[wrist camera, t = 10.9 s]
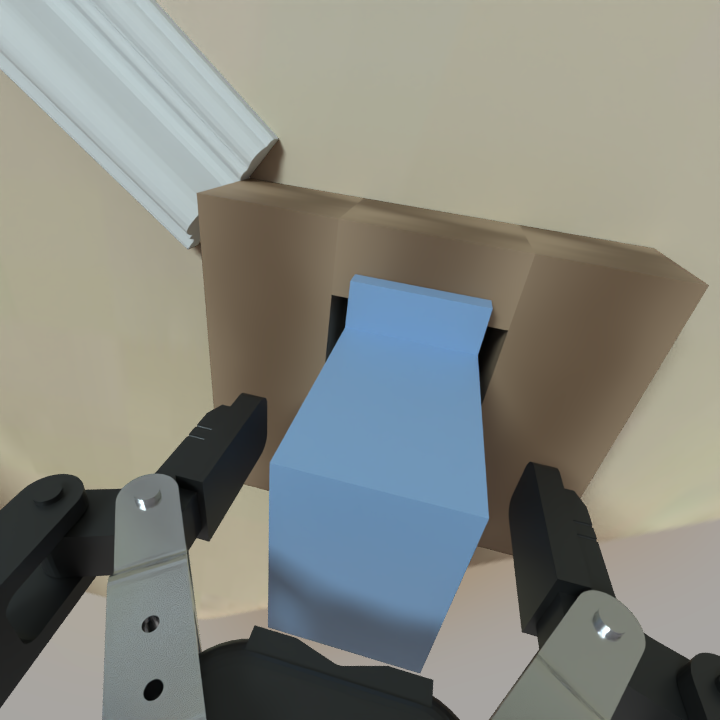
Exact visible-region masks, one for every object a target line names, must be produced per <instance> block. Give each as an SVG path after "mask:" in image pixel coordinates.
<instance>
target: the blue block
mask: <svg viewBox="0 0 720 720" xmlns="http://www.w3.org/2000/svg"><path fill="white" fill-rule="evenodd" d="M492 309H493V307H492V301H491V300H486V299H481V298H476V297H471V296H466V295H460V294H455V293H450V292H445V291H440V290H435V289H429V288H424V287H419V286H414V285H409V284H404V283H398V282H393V281H388V280H383V279H378V278H373V277H367V276H362V275H357V274H355V275H354V276H353V278H352V279H351V281H350V289H349V298H348V306H347V315H346V324H345V329H344V330H343V332H342V334H341V336H340V338H339V339H338V341H337V343H336V345H335V347H334V348H333V350H332V352H331V354H330V356H329V357H328V359H327V361H326V363H325V364H324V366H323V368H322V370H321V372H320V373H319V375H318V377H317V379H316V381H315V382H314V384H313V386H312V388H311V390H310V391H309V393H308V395H307V397H306V399H305V400H304V402H303V404H302V406H301V408H300V409H299V411H298V413H297V415H296V416H295V418H294V420H293V422H292V424H291V425H290V427H289V429H288V431H287V433H286V434H285V436H284V438H283V440H282V442H281V443H280V445H279V447H278V449H277V451H276V452H275V454H274V456H273V458H272V460H271V461H270V473H269V583H268V627H269V628H272V629H276V630H279V631H282V632H285V633H288V634H292V635H295V636H298V637H302V638H305V639H308V640H312V641H315V642H318V643H322V644H325V645H328V646H331V647H335V648H338V649H341V650H345V651H348V652H351V653H354V654H358V655H362V656H365V657H368V658H371V659H374V660H377V661H381V662H384V663H387V664H391V665H394V666H398V667H401V668H404V669H407V670H411V671H414V672H417V673H420V672H421V670H422V668H423V665H424V663H425V661H426V659H427V657H428V654H429V652H430V650H431V648H432V645H433V643H434V641H435V639H436V636H437V634H438V632H439V630H440V628H441V625H442V622H443V621H444V618H445V616H446V614H447V612H448V609H449V607H450V605H451V603H452V601H453V598H454V596H455V594H456V591H457V589H458V587H459V585H460V583H461V580H462V578H463V576H464V573H465V571H466V569H467V567H468V565H469V562H470V560H471V558H472V556H473V553H474V551H475V549H476V547H477V544H478V542H479V540H480V538H481V535H482V533H483V531H484V529H485V526H486V524H487V522H488V520H489V512H488V498H487V483H486V468H485V454H484V439H483V425H482V410H481V395H480V381H479V366H478V353H479V350H480V347H481V344H482V341H483V338H484V334H485V331H486V328H487V325H488V322H489V319H490V316H491V312H492Z"/></svg>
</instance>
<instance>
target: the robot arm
mask: <svg viewBox="0 0 720 720" xmlns="http://www.w3.org/2000/svg"><path fill="white" fill-rule="evenodd" d="M266 440H267V399H266V398H264V397H260V396H256V395H252V394H247V393H241V394H240V395H239V396H238V398H237V399H236V400H235V401H234V402H233V404H232V405H231V406H226V405H220V406H219V407H217V408H215V409H213V410H212V411H210V412H208V413H207V414H206V415H205V416H204V417H203V419H202V420H201V421H200V422H199V423H198V424H197V427H195V428H194V429H193V430H192V431H191V432H190V434H189V436H188V437H186V438H185V439H184V441H183V442H182V443H181V444H180V445H179V446H178V447H177V449H176V450H175V451H174V452H173V453H172V454H171V456H170V457H169V458H168V459H167V460H166V461H165V462H164V464H163V465H162V466H161V467H160V468H159V469H158V471H157V472H156V473H155V474H148V475H144V476H141V477H138V478H136V479H134V480H132V481H131V482H129V483H128V484H126V485H125V486H124V487H123V488H122V489H97V490H85V488H84V485H83V483H82V481H81V480H80V479H79V478H78V477H76V476H73V475H69V474H58V475H52V476H48V477H45V478H42V479H40V480H37V481H35V482H33V483H32V484H30V485H29V486H27V487H26V488H24V489H23V490H22V491H21V492H20V493H19V494H18V495H17V496H15V497H14V498H13V499H12V500H11V501H10V502H9V503H8V504H7V505H6V506H5V507H3V508H2V509H1V510H0V708H1V706H2V705H3V704H4V702H5V701H6V699H7V698H8V696H9V695H10V694H11V693H12V691H13V690H14V688H15V687H16V686H17V684H18V683H19V682H20V680H21V679H22V677H23V676H24V675H25V673H26V672H27V671H28V669H29V668H30V666H31V665H32V664H33V662H34V661H35V659H36V658H37V657H38V656H39V654H40V653H41V651H42V650H43V648H44V647H45V646H46V644H47V643H48V642H49V640H50V639H51V638H52V636H53V635H54V633H55V632H56V631H57V629H58V628H59V626H60V625H61V624H62V623H63V621H64V620H65V618H66V617H67V616H68V614H69V613H70V612H71V610H72V609H73V607H74V606H75V605H76V603H77V602H78V601H79V599H80V598H81V596H82V595H83V594H84V592H85V591H86V590H87V588H88V587H89V585H90V584H91V583H92V581H93V580H94V579H95V577H96V576H104V575H110V576H109V579H108V584H107V605H106V633H105V658H104V685H103V712H102V720H460V719H459V718H458V717H457V716H456V715H455V714H454V713H453V712H452V711H451V710H450V709H449V708H448V707H447V706H445V705H444V704H443V703H442V702H441V701H440V700H438V699H437V698H435V697H434V696H432V694H433V680H432V679H428V678H425V677H422V676H418V675H415V674H412V673H409V672H405V671H402V670H399V669H395V668H392V667H389V666H339V665H336V664H334V663H333V662H332V661H330V660H329V659H327V658H325V657H324V656H322V655H321V654H319V653H318V652H316V651H315V650H313V649H312V648H311V647H309V646H308V645H306V644H305V643H303V642H302V641H300V640H299V639H297V638H294V637H291V636H288V635H284V634H281V633H278V632H275V631H271V630H268V629H265V628H262V627H258V626H254V628H253V631H252V633H251V636H250V638H249V639H239V640H232V641H228V642H224V643H221V644H218V645H216V646H214V647H211V648H209V649H207V650H205V651H203V652H202V649H201V642H200V634H199V627H198V620H197V613H196V605H195V597H194V590H193V582H192V574H191V566H190V559H189V551H188V550H189V549H190V547H191V546H192V544H193V543H194V541H195V539H196V538H198V539H202V540H205V541H210V540H211V538H212V536H213V535H214V533H215V531H216V530H217V528H218V526H219V524H220V523H221V521H222V519H223V518H224V516H225V514H226V513H227V511H228V509H229V508H230V506H231V504H232V503H233V501H234V499H235V498H236V496H237V494H238V493H239V491H240V489H241V488H242V486H243V484H244V483H245V481H246V479H247V478H248V476H249V474H250V473H251V471H252V469H253V468H254V466H255V464H256V463H257V461H258V459H259V458H260V456H261V454H262V452H263V450H264V447H265V444H266ZM509 525H510V534H511V542H512V551H513V559H514V568H515V576H516V585H517V594H518V602H519V611H520V619H521V628H522V632H523V633H527V634H530V635H534V636H537V637H538V643H539V651H538V652H537V653H536V655H535V656H534V657H533V659H532V660H531V662H530V663H529V664H528V666H527V667H526V669H525V670H524V672H523V673H522V675H521V676H520V677H519V678H518V680H517V681H516V683H515V684H514V686H513V687H512V688H511V690H510V691H509V692H508V694H507V695H506V697H505V698H504V699H503V701H502V702H501V704H500V705H499V707H498V708H497V709H496V711H495V712H494V713H493V715H492V716H491V718H490V719H489V720H720V656H718V655H715V654H711V653H700V654H698V655H696V656H695V657H693V658H692V659H691V660H689V659H687V658H686V657H684V656H682V655H680V654H678V653H677V652H675V651H673V650H671V649H670V648H668V647H666V646H664V645H663V644H661V643H659V642H657V641H656V640H654V639H652V638H651V637H649V636H648V635H646V634H645V633H644V632H643V630H642V628H641V625H640V624H639V622H638V620H637V619H636V618H635V616H634V615H633V613H632V612H631V611H630V610H629V609H628V608H627V607H626V606H625V605H624V604H622V603H621V602H620V601H618V600H617V599H616V597H615V594H614V591H613V588H612V585H611V582H610V579H609V575H608V572H607V569H606V566H605V563H604V560H603V557H602V554H601V550H600V548H599V544H598V542H596V539H597V538H596V535H595V532H594V529H593V528H592V522H591V519H590V516H589V513H588V510H587V507H586V506H585V504H584V503H583V502H582V500H581V499H580V498H579V496H578V495H577V494H576V492H575V491H573V490H569V489H565V488H564V485H563V482H562V478H561V475H560V471H559V469H558V468H555V467H551V466H547V465H543V464H539V463H534V462H529V463H528V464H527V465H526V467H525V469H524V471H523V474H522V476H521V478H520V480H519V482H518V484H517V486H516V488H515V490H514V493H513V495H512V497H511V500H510V505H509Z"/></svg>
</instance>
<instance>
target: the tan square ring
mask: <svg viewBox="0 0 720 720" xmlns="http://www.w3.org/2000/svg"><path fill="white" fill-rule="evenodd" d="M197 204H198V216H199V229H200V241H201V254H202V266H203V279H204V291H205V303H206V316H207V328H208V341H209V353H210V365H211V378H212V390H213V403H214V409H215V408H217V407H219V406H220V405H226V406H231V405H232V404H233V402H234V401H235V400H236V399H237V398H238V396H239V395H240V394H241V393H247V394H252V395H256V396H260V397H264V398H266V399H267V440H266V444H265V447H264V450H263V452H262V454H261V456H260V458H259V459H258V461H257V463H256V464H255V466H254V468H253V469H252V471H251V473H250V474H249V476H248V478H247V479H246V481H245V483H244V484H245V485H249V486H252V487H256V488H260V489H264V490H267V491H269V473H270V461H271V460H272V458H273V456H274V454H275V452H276V451H277V449H278V447H279V445H280V443H281V442H282V440H283V438H284V436H285V434H286V433H287V431H288V429H289V427H290V425H291V424H292V422H293V420H294V418H295V416H296V415H297V413H298V411H299V409H300V408H301V406H302V404H303V402H304V400H305V399H306V397H307V395H308V393H309V391H310V390H311V388H312V386H313V384H314V382H315V381H316V379H317V377H318V375H319V373H320V372H321V370H322V368H323V366H324V364H325V363H326V361H327V359H328V357H329V356H330V354H331V352H332V350H333V348H334V347H335V345H336V343H337V341H338V339H339V338H340V336H341V334H342V332H343V330H344V329H345V324H346V315H347V306H348V298H349V289H350V281H351V279H352V278H353V276H354V275H355V274H357V275H362V276H367V277H373V278H378V279H383V280H388V281H393V282H398V283H404V284H409V285H414V286H419V287H424V288H429V289H435V290H440V291H445V292H450V293H455V294H460V295H466V296H471V297H476V298H481V299H486V300H491V301H492V307H493V309H492V312H491V316H490V319H489V322H488V325H487V329H486V332H485V335H484V338H483V341H482V344H481V347H480V350H479V353H478V366H479V381H480V395H481V410H482V425H483V439H484V454H485V468H486V483H487V498H488V512H489V520H488V522H487V524H486V526H485V529H484V531H483V533H482V535H481V538H480V540H479V542H478V544H477V546H479V547H483V548H487V549H490V550H494V551H498V552H502V553H505V554H509V555H513V551H512V542H511V534H510V525H509V505H510V500H511V497H512V495H513V493H514V490H515V488H516V486H517V484H518V482H519V480H520V478H521V476H522V474H523V471H524V469H525V467H526V465H527V464H528V463H529V462H534V463H539V464H543V465H547V466H551V467H555V468H558V469H559V471H560V475H561V478H562V482H563V485H564V488H565V489H569V490H573V491H575V492H576V494H577V495H578V496H579V498H581V496H582V494H583V493H584V491H585V489H586V488H587V486H588V484H589V483H590V481H591V479H592V478H593V476H594V474H595V473H596V471H597V469H598V468H599V466H600V465H601V463H602V461H603V460H604V458H605V456H606V455H607V453H608V451H609V450H610V448H611V446H612V445H613V443H614V441H615V440H616V438H617V436H618V435H619V433H620V431H621V430H622V428H623V427H624V425H625V423H626V422H627V420H628V418H629V417H630V415H631V413H632V412H633V410H634V408H635V407H636V405H637V403H638V402H639V400H640V398H641V397H642V395H643V393H644V392H645V390H646V389H647V387H648V385H649V384H650V382H651V380H652V379H653V377H654V375H655V374H656V372H657V370H658V369H659V367H660V365H661V364H662V362H663V360H664V359H665V357H666V355H667V354H668V352H669V350H670V349H671V347H672V346H673V344H674V342H675V341H676V339H677V337H678V336H679V334H680V332H681V331H682V329H683V327H684V326H685V324H686V322H687V321H688V319H689V317H690V316H691V314H692V312H693V311H694V309H695V308H696V306H697V304H698V303H699V301H700V299H701V298H702V296H703V294H704V293H705V291H706V289H707V288H708V286H709V285H708V284H706V283H705V282H703V281H702V280H700V279H699V278H697V277H696V276H694V275H693V274H691V273H690V272H688V271H687V270H685V269H684V268H682V267H681V266H679V265H678V264H676V263H675V262H674V261H672V260H671V259H669V258H668V257H666V256H665V255H663V254H662V253H660V252H659V251H657V250H656V249H654V248H648V247H643V246H637V245H631V244H625V243H619V242H614V241H608V240H602V239H596V238H591V237H585V236H579V235H573V234H567V233H562V232H556V231H550V230H544V229H539V228H533V227H527V226H521V225H515V224H510V223H504V222H498V221H492V220H487V219H481V218H475V217H469V216H463V215H458V214H452V213H446V212H440V211H435V210H429V209H423V208H417V207H412V206H406V205H400V204H394V203H388V202H383V201H377V200H371V199H365V198H360V197H354V196H348V195H342V194H336V193H331V192H325V191H319V190H313V189H308V188H302V187H296V186H290V185H284V184H279V183H273V182H267V181H261V180H256V179H250V178H248V179H245V180H241V181H238V182H234V183H231V184H227V185H223V186H220V187H216V188H213V189H209V190H206V191H202V192H198V193H197Z"/></svg>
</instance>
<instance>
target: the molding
mask: <svg viewBox="0 0 720 720" xmlns="http://www.w3.org/2000/svg"><path fill="white" fill-rule="evenodd" d="M0 69H1V70H2V71H3V72H4V73H5V74H6V75H7V76H8V77H9V78H10V79H11V80H12V81H13V82H14V83H16V84H17V85H18V86H19V87H20V88H21V89H22V90H23V91H24V92H25V93H26V94H27V95H28V96H29V97H30V98H31V99H32V100H33V101H34V102H35V103H36V104H37V105H38V106H39V107H40V108H41V109H42V110H44V111H45V112H46V113H47V114H48V115H49V116H50V117H51V118H52V119H53V120H54V121H55V122H56V123H57V124H58V125H59V126H60V127H61V128H62V129H63V130H64V131H65V132H66V133H67V134H68V135H69V136H71V137H72V138H73V139H74V140H75V141H76V142H77V143H78V144H79V145H80V146H81V147H82V148H83V149H84V150H85V151H86V152H87V153H88V154H89V155H90V156H91V157H92V158H93V159H94V160H95V161H96V162H98V163H99V164H100V165H101V166H102V167H103V168H104V169H105V170H106V171H107V172H108V173H109V174H110V175H111V176H112V177H113V178H114V179H115V180H116V181H117V182H118V183H119V184H120V185H121V186H122V187H123V188H124V189H126V190H127V191H128V192H129V193H130V194H131V195H132V196H133V197H134V198H135V199H136V200H137V201H138V202H139V203H140V204H141V205H142V206H143V207H144V208H145V209H146V210H147V211H148V212H149V213H150V214H151V215H153V216H154V217H155V218H156V219H157V220H158V221H159V222H160V223H161V224H162V225H163V226H164V227H165V228H166V229H167V230H168V231H169V232H170V233H171V234H172V235H173V236H174V237H175V238H176V239H177V240H178V241H180V242H181V243H182V244H183V245H184V246H185V247H186V248H187V249H190V248H192V247H195V246H197V245H198V244H199V242H200V229H199V216H198V204H197V193H198V192H202V191H206V190H209V189H213V188H216V187H220V186H223V185H227V184H231V183H234V182H238V181H241V180H245V179H248V178H249V177H250V176H251V174H252V173H253V172H254V170H255V169H256V168H257V167H258V165H259V164H260V163H261V161H262V160H263V159H264V157H265V156H266V155H267V153H268V152H269V151H270V150H271V148H272V147H273V146H274V144H275V143H276V142H277V140H278V139H279V138H278V137H277V136H276V135H275V133H274V132H273V131H272V130H271V129H270V128H269V127H268V126H267V125H266V123H265V122H264V121H263V120H262V119H261V118H260V117H259V116H258V114H257V113H256V112H255V111H254V110H253V109H252V108H251V107H250V106H249V104H248V103H247V102H246V101H245V100H244V99H243V98H242V97H241V95H240V94H239V93H238V92H237V91H236V90H235V89H234V88H233V87H232V85H231V84H230V83H229V82H228V81H227V80H226V79H225V78H224V76H223V75H222V74H221V73H220V72H219V71H218V70H217V69H216V68H215V66H214V65H213V64H212V63H211V62H210V61H209V60H208V59H207V57H206V56H205V55H204V54H203V53H202V52H201V51H200V50H199V49H198V47H197V46H196V45H195V44H194V43H193V42H192V41H191V40H190V38H189V37H188V36H187V35H186V34H185V33H184V32H183V31H182V30H181V28H180V27H179V26H178V25H177V24H176V23H175V22H174V21H173V19H172V18H171V17H170V16H169V15H168V14H167V13H166V12H165V11H164V9H163V8H162V7H161V6H160V5H159V4H158V3H157V2H156V0H0Z"/></svg>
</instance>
